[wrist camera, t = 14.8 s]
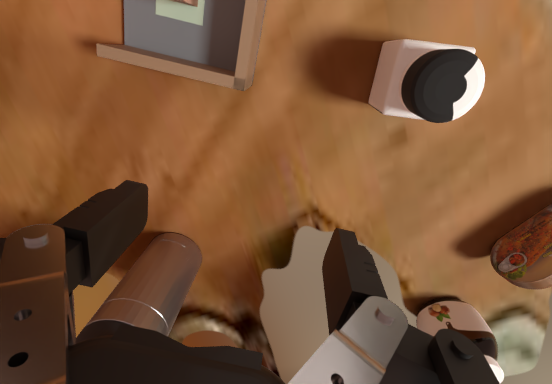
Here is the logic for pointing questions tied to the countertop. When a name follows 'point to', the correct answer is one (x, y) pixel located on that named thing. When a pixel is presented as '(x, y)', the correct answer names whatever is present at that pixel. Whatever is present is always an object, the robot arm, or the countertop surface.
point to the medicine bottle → (426, 80)
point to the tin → (526, 252)
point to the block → (188, 2)
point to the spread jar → (461, 326)
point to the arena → (192, 39)
